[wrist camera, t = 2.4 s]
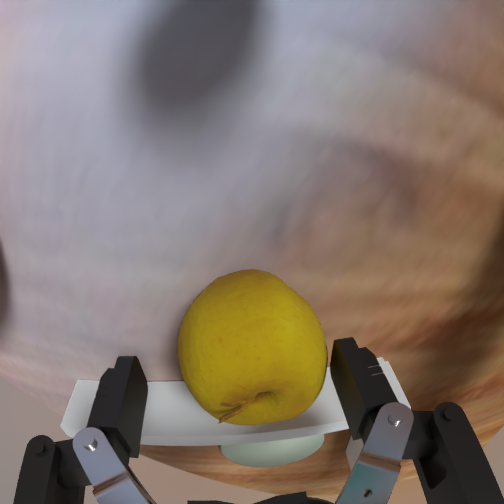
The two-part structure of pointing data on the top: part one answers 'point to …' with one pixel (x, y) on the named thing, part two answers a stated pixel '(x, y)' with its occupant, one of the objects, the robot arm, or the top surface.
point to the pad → (273, 451)
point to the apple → (252, 350)
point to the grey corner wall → (206, 426)
